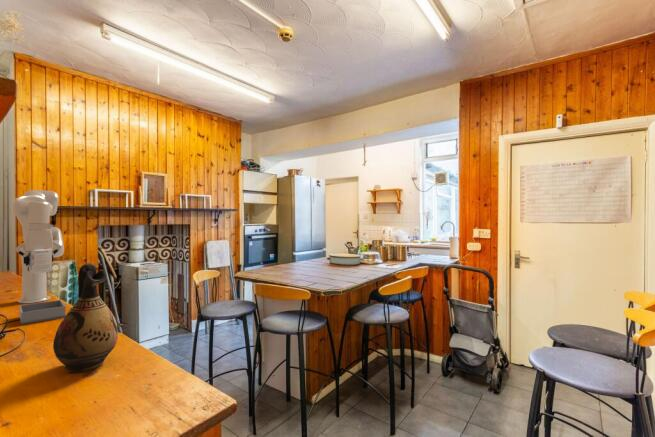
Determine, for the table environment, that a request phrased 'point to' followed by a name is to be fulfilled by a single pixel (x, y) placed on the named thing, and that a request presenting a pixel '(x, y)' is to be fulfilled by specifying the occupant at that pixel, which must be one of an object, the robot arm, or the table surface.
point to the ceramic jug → (86, 326)
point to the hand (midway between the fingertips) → (38, 264)
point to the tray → (41, 312)
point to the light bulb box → (39, 261)
